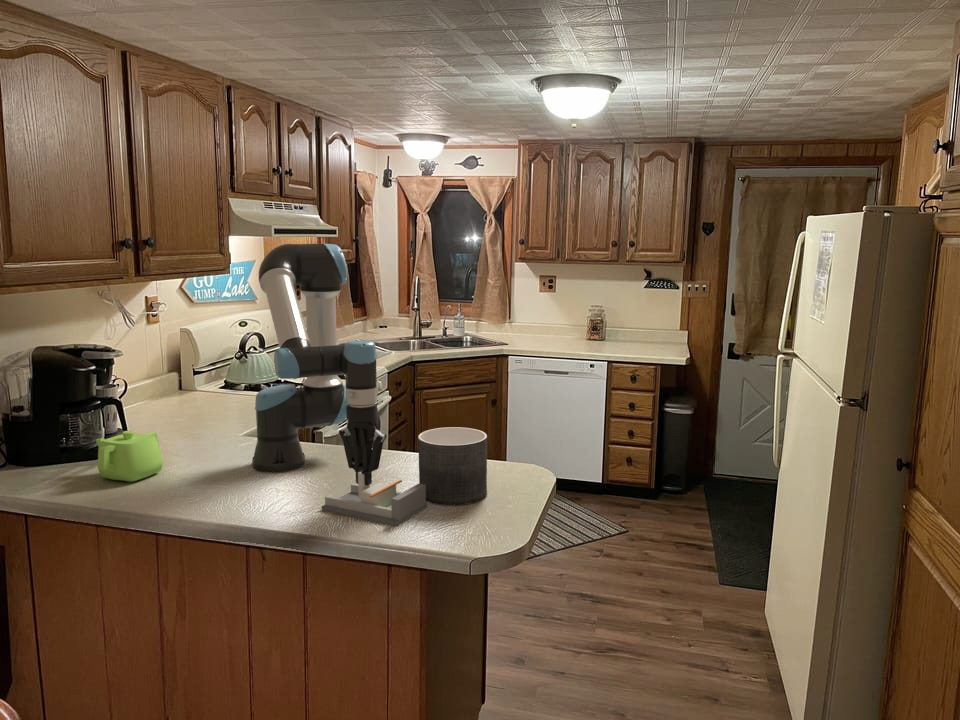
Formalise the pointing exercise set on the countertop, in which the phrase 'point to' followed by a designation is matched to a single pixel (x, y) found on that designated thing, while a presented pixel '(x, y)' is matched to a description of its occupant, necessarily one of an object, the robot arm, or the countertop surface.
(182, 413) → the countertop surface
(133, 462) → the teapot
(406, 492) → the gauge base
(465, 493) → the planter
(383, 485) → the cream box orange strip
